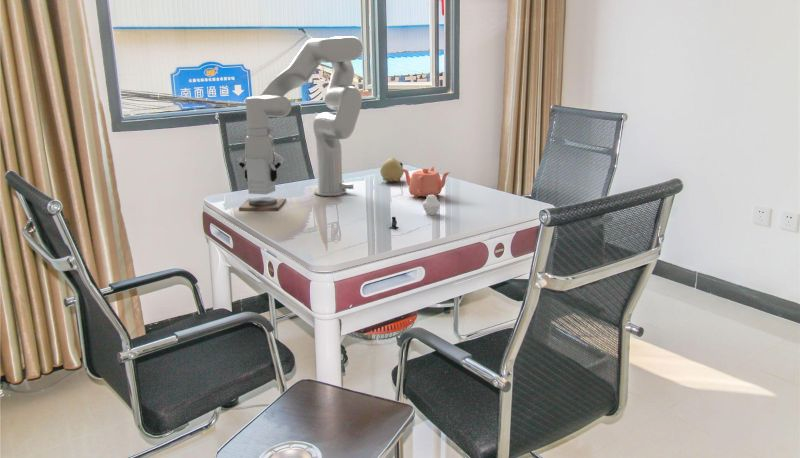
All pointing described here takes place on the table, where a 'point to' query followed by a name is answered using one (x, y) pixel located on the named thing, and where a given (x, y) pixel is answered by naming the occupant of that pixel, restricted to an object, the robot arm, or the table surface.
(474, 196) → the table surface
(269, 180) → the supplement box
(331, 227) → the table surface
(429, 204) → the muffin
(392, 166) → the pale yellow rounded lump
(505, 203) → the table surface
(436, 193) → the teapot
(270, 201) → the brown square board
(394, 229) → the sculpture
